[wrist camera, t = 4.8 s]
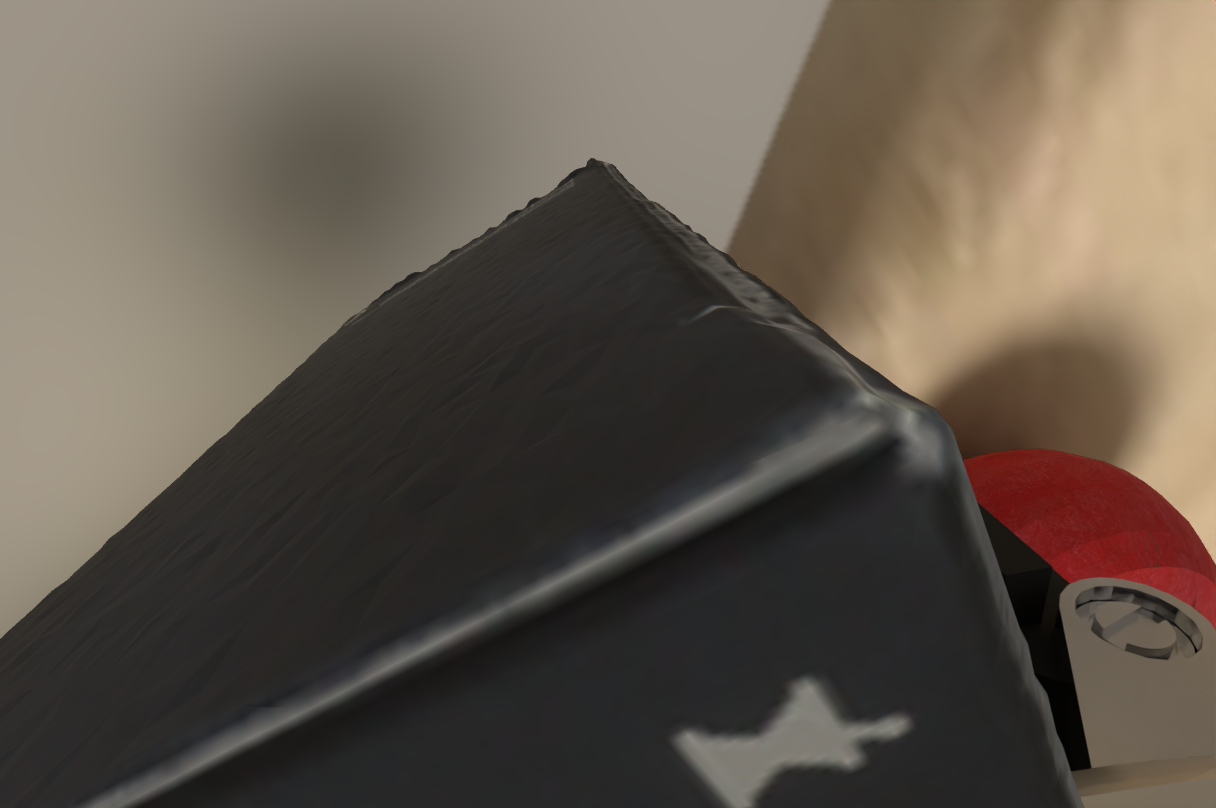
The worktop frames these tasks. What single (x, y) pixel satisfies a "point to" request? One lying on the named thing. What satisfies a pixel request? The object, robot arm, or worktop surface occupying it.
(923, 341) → the worktop surface
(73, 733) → the small box
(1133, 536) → the tomato
